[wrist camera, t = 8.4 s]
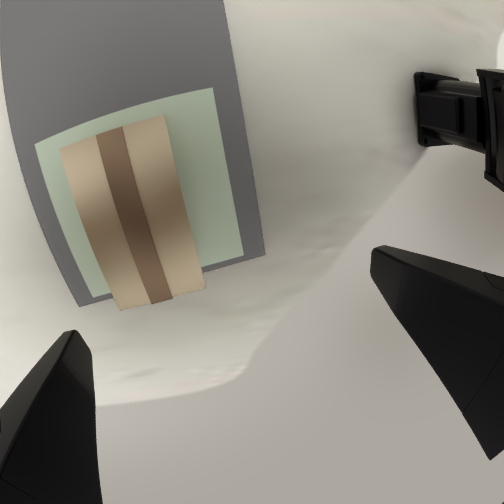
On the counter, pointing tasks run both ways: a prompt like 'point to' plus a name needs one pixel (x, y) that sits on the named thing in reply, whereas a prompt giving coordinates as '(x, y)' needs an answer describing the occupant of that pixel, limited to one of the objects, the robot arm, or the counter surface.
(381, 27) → the counter surface
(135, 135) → the taped cardboard box
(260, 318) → the counter surface
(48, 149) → the mat
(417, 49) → the counter surface
